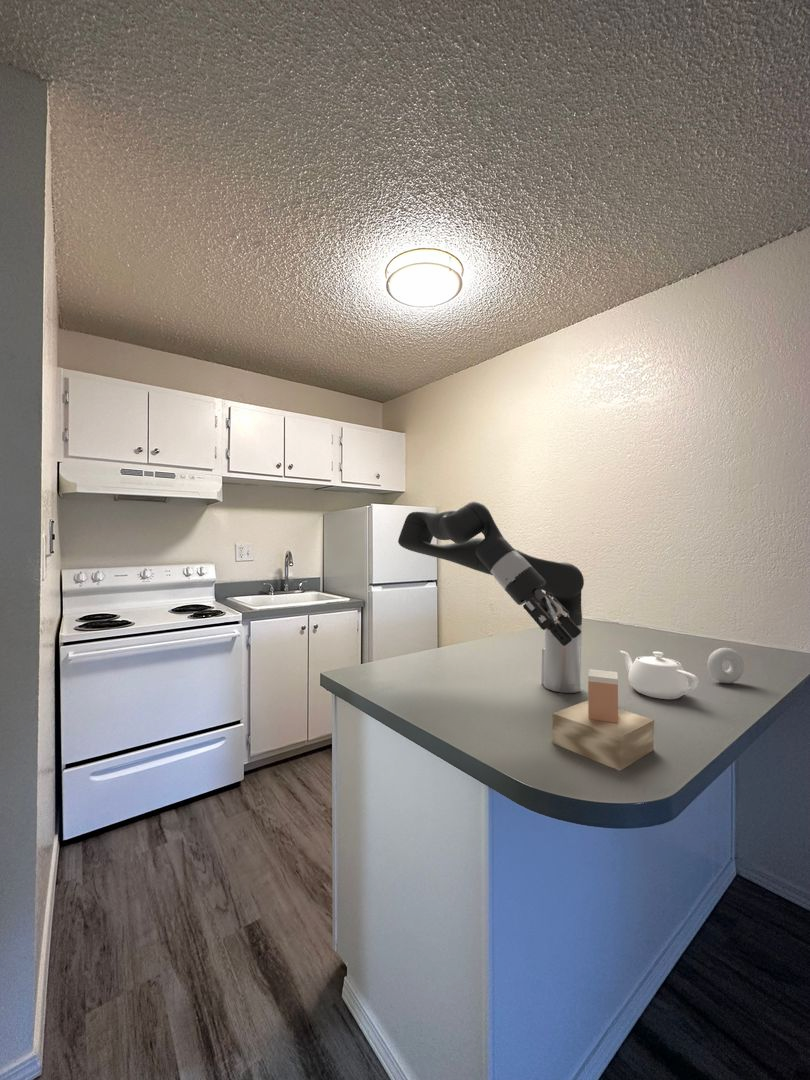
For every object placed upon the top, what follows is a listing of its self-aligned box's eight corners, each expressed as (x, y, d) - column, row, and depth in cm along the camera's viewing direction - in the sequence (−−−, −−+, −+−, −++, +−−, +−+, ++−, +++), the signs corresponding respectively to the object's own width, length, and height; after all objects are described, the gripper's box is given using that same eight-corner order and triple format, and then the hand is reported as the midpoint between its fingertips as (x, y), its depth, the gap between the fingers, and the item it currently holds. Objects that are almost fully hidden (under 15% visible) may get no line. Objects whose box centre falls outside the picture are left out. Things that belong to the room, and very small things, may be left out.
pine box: (552, 744, 86) (552, 713, 86) (587, 728, 94) (588, 699, 94) (619, 772, 76) (620, 737, 76) (653, 752, 84) (654, 719, 84)
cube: (588, 718, 84) (588, 675, 84) (589, 709, 88) (589, 669, 89) (618, 723, 82) (617, 679, 82) (617, 713, 86) (617, 672, 86)
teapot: (715, 703, 110) (715, 659, 110) (677, 711, 105) (678, 664, 105) (636, 678, 130) (637, 640, 130) (601, 683, 125) (602, 644, 125)
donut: (738, 681, 129) (738, 646, 129) (747, 685, 126) (748, 649, 126) (703, 681, 129) (704, 646, 129) (712, 684, 125) (713, 649, 125)
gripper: (515, 586, 102) (567, 644, 96) (492, 591, 90) (550, 658, 84) (539, 564, 99) (594, 622, 93) (519, 566, 87) (580, 633, 81)
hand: (573, 639), depth 88 cm, fingers open, 8 cm apart
